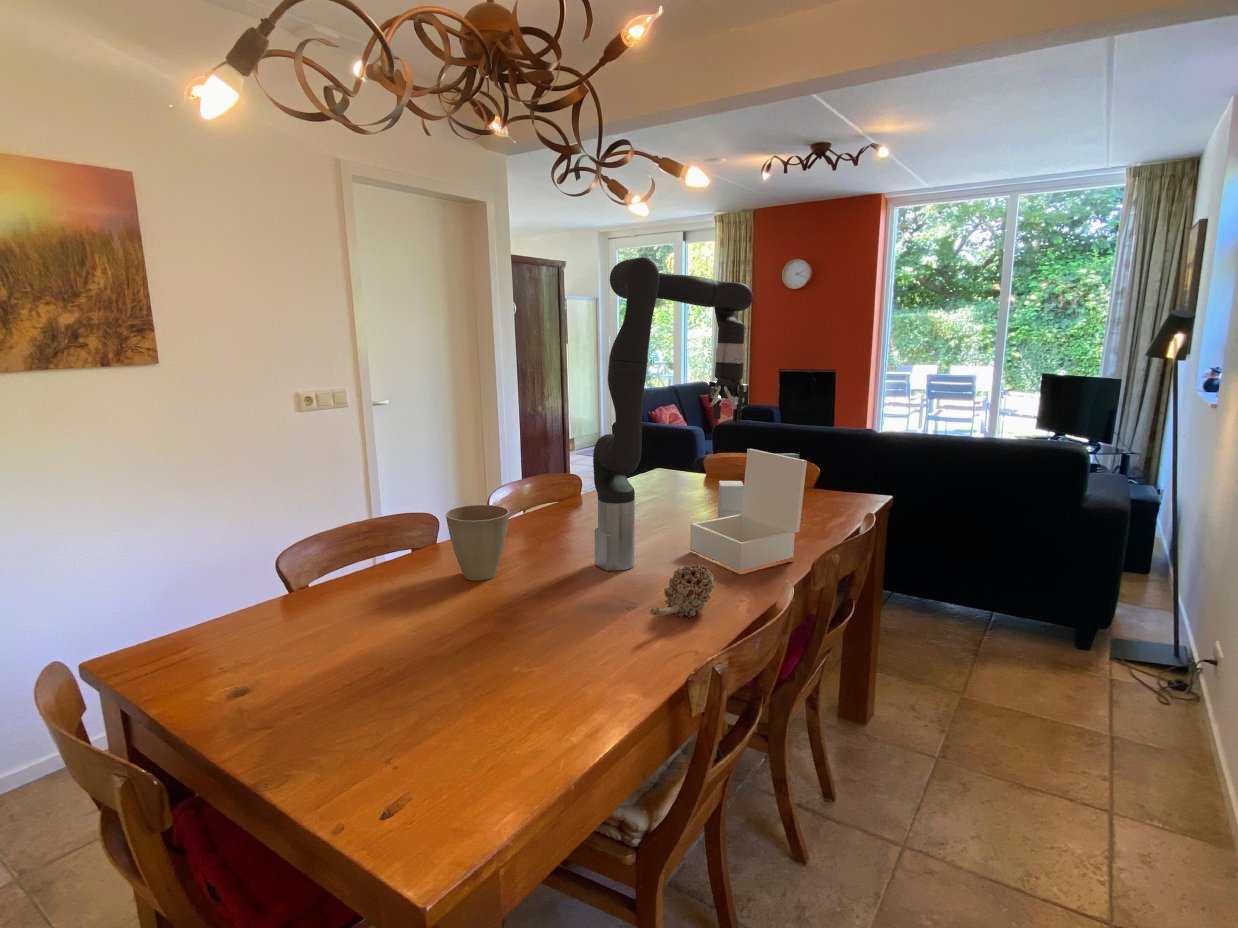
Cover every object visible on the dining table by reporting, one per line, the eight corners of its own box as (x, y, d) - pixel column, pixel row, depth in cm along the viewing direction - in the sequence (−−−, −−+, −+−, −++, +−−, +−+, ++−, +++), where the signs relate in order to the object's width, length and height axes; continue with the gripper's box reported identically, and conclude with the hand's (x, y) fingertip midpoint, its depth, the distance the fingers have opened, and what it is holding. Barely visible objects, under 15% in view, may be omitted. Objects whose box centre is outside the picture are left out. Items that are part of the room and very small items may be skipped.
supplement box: (741, 519, 207) (742, 480, 204) (743, 526, 200) (744, 485, 197) (717, 518, 208) (718, 480, 205) (718, 525, 200) (719, 485, 198)
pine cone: (681, 595, 147) (682, 553, 145) (721, 603, 142) (723, 560, 140) (635, 633, 128) (635, 586, 126) (679, 645, 124) (680, 595, 122)
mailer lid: (803, 460, 164) (826, 460, 168) (747, 448, 181) (769, 448, 185) (795, 532, 167) (817, 529, 171) (741, 513, 184) (762, 511, 188)
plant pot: (497, 589, 151) (495, 522, 147) (437, 584, 153) (434, 518, 150) (520, 566, 165) (518, 505, 162) (465, 562, 168) (462, 502, 165)
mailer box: (740, 575, 159) (741, 543, 158) (689, 552, 176) (690, 523, 174) (793, 561, 168) (794, 532, 167) (740, 541, 185) (741, 513, 184)
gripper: (702, 360, 179) (699, 418, 182) (736, 361, 167) (732, 424, 170) (723, 360, 183) (720, 417, 186) (758, 362, 171) (754, 423, 174)
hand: (726, 421), depth 178 cm, fingers open, 8 cm apart
